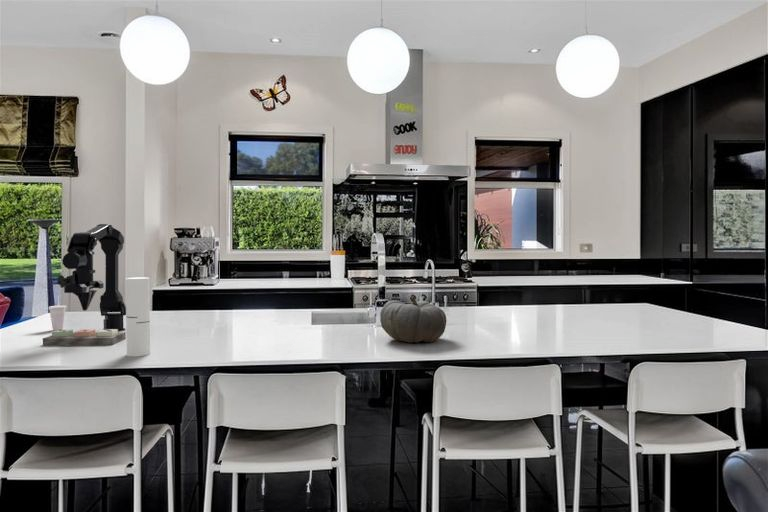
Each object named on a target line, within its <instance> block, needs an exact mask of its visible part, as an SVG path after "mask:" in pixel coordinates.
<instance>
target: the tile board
mask: <svg viewBox="0 0 768 512" xmlns="http://www.w3.org/2000/svg"><path fill="white" fill-rule="evenodd" d="M124 340H127V336H126V331H118V334H117V335H115V336H98V331H97V332H96V331H95V335H93V336H90V337H75V332H73V335H70V336H68V337H52V334H51V335H49V336H46V337H43V338H42V346H43V347H44V346H45V347H46V346H111V345H115V344H118V343H121V342H122V341H124Z"/></svg>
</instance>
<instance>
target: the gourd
mask: <svg viewBox="0 0 768 512" xmlns="http://www.w3.org/2000/svg"><path fill="white" fill-rule="evenodd" d="M410 300H411V301H412V303H404V302H402V301H399V300H394V299H393V300H389V301H387V302H386V303H384V305H383V306H382V308H381V309H380V313H379V315H380V316H379V317H380V318H379V320H380V323H381V327H382V329H383V330H384V332H385V333H386V334H387V335H388V336H389V337H390V338H392V339H394V340H396V341H399V342H400V341H402V342H404V343H405V342H407V343H420V342H425V343H430V342H434V341H437V340H438V339H440V338H441V337H442V336H443V334H444V333H445V331H446V327H447V316H446V313H445V311H443V309H441V308H439V307H437V306H436V305H435V304H432V303H430V302H428V301H426V300H425V301H424V300H419V301H416V298H415V296H414V295H411V296H410Z"/></svg>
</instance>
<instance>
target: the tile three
mask: <svg viewBox="0 0 768 512" xmlns="http://www.w3.org/2000/svg"><path fill="white" fill-rule="evenodd" d="M97 332H98V336H115V335H117V334H118V332H119V331H118V329H104V328H102V329H101V330H99V331H97Z"/></svg>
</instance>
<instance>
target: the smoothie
mask: <svg viewBox="0 0 768 512" xmlns="http://www.w3.org/2000/svg"><path fill="white" fill-rule="evenodd" d="M66 310H67V305H60V295H57V305H51V306H48V311H49V315H50V321H51V329H52V332H54V331H57V330H61V329H62V330H64V327H65V326H64V325H65V324H64V323H65V315H66Z"/></svg>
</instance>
